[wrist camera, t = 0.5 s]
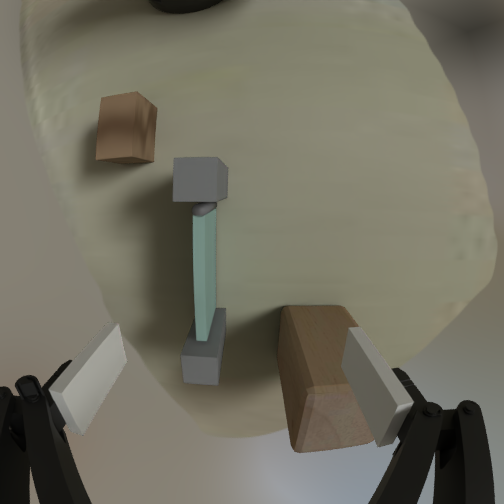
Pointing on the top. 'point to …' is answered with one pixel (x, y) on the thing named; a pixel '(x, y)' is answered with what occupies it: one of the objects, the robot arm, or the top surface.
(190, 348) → the post
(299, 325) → the wooden block
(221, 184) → the hinge post
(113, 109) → the brown rectangular block
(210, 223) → the gate
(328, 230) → the top surface
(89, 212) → the top surface
